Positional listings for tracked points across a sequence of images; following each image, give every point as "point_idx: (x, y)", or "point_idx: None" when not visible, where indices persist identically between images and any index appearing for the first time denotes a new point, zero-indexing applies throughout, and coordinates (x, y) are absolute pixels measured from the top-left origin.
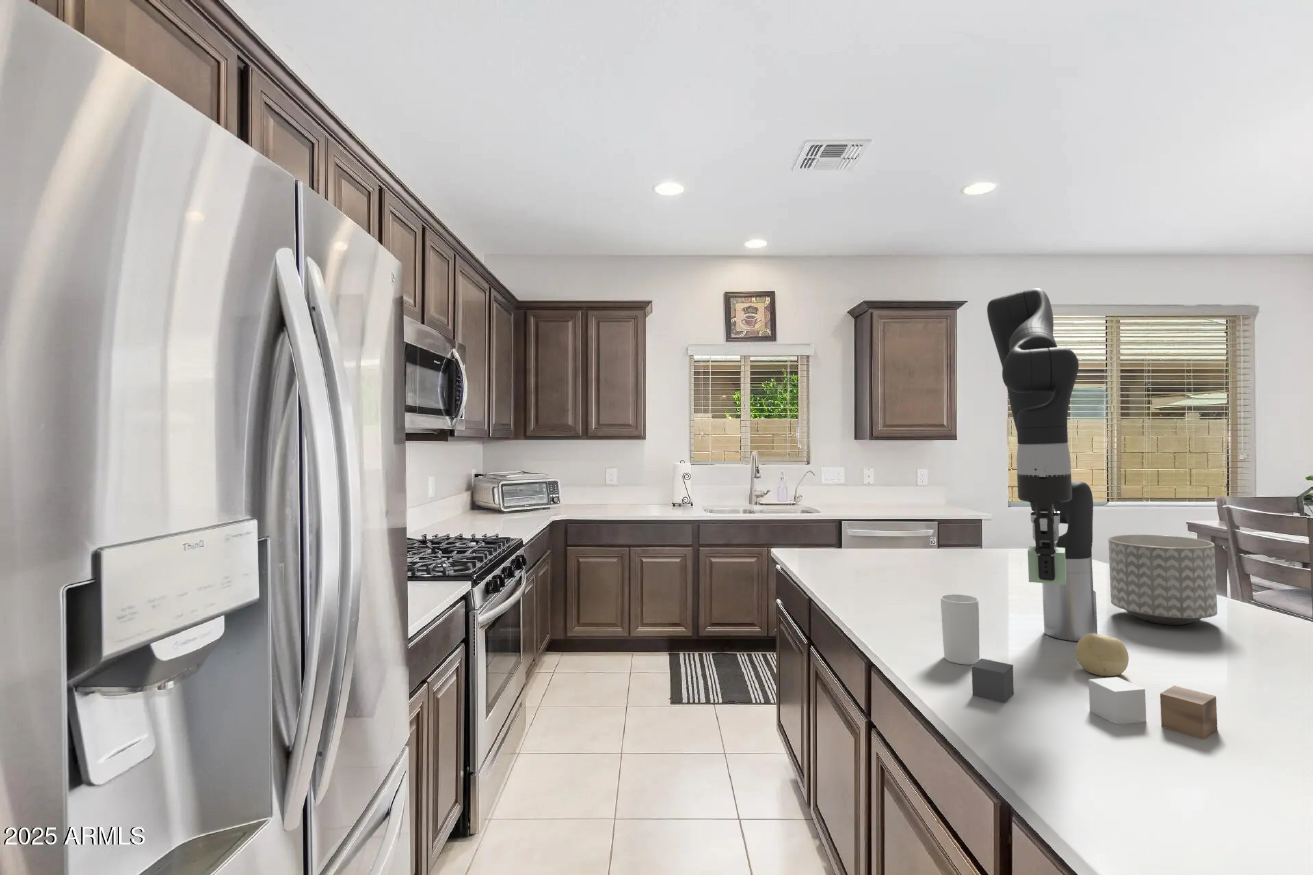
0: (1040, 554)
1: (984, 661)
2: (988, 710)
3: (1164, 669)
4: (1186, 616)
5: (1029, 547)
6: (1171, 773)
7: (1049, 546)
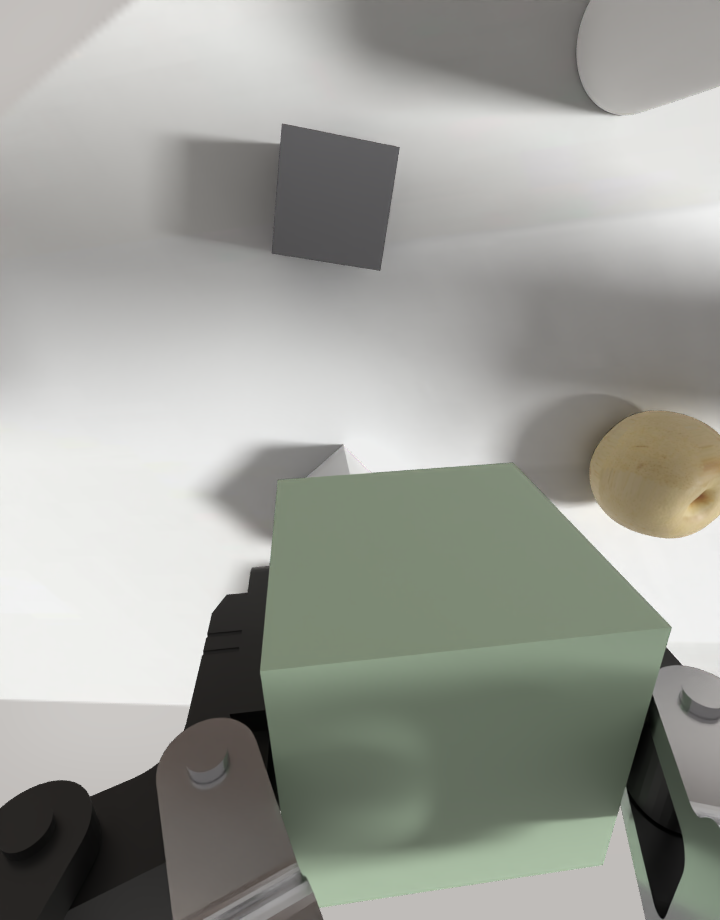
0: (102, 793)
1: (367, 165)
2: (188, 212)
3: (686, 558)
4: None
5: (551, 643)
6: (98, 576)
7: (635, 783)
